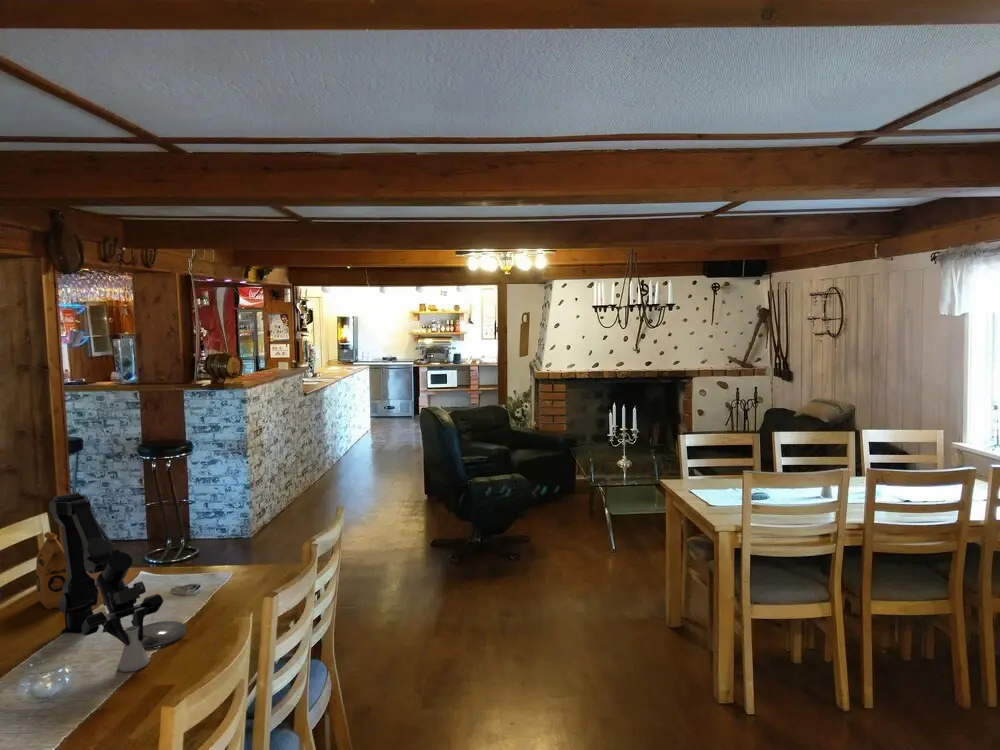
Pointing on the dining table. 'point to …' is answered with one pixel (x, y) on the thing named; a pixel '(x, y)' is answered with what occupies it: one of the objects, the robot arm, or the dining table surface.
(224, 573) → the dining table surface
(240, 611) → the dining table surface
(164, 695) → the dining table surface
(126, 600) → the robot arm
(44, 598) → the coffee package
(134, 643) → the flask
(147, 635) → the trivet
